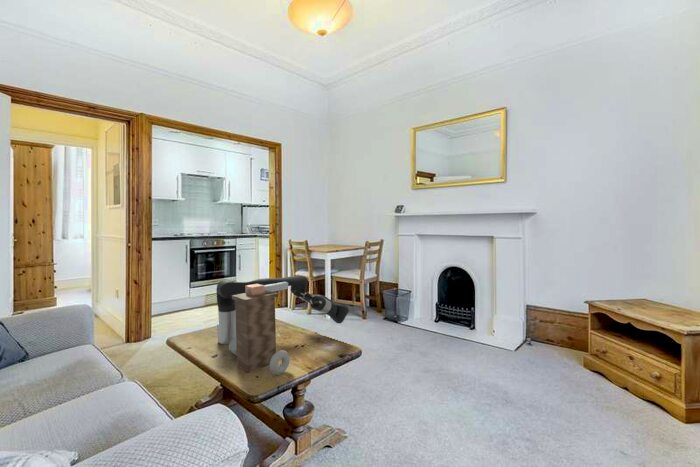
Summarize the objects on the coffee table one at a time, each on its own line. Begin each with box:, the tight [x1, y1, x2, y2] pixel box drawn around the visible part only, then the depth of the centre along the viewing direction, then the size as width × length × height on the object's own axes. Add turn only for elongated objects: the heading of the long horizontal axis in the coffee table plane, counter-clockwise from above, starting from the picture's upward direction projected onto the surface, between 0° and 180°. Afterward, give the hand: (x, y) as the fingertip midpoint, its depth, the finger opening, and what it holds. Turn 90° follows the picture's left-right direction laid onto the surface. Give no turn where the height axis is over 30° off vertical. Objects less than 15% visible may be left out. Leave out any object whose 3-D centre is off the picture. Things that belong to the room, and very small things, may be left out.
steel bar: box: [245, 282, 289, 297], centre depth 153 cm, size 20×6×4 cm, turn 136°
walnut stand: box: [232, 292, 279, 374], centre depth 149 cm, size 16×12×32 cm
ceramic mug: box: [228, 338, 237, 356], centre depth 161 cm, size 11×8×8 cm
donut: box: [269, 349, 291, 376], centre depth 140 cm, size 10×4×10 cm, turn 143°
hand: (299, 293), depth 166 cm, fingers open, 8 cm apart
